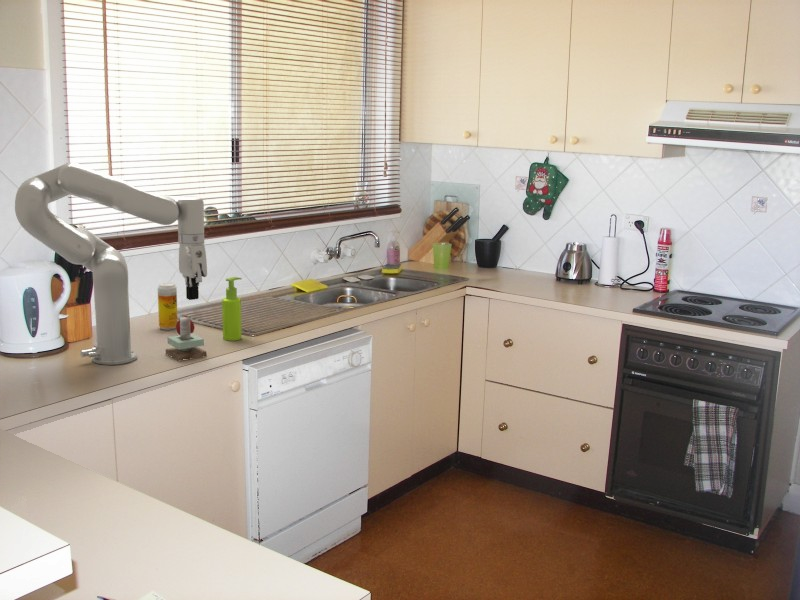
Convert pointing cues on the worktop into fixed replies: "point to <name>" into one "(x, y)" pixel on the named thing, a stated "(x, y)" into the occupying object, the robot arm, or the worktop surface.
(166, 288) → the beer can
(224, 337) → the soap dispenser
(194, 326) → the onion
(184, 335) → the post stand
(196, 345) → the collar
